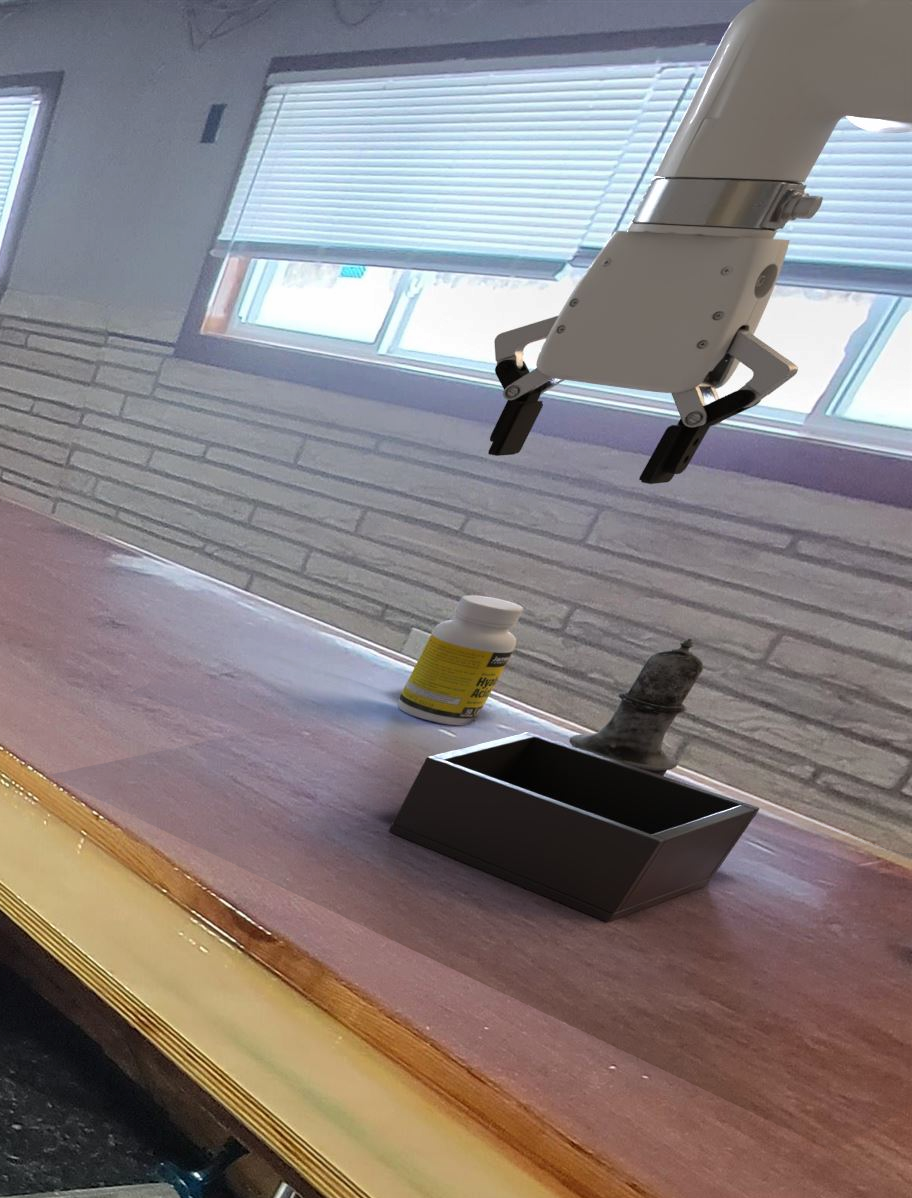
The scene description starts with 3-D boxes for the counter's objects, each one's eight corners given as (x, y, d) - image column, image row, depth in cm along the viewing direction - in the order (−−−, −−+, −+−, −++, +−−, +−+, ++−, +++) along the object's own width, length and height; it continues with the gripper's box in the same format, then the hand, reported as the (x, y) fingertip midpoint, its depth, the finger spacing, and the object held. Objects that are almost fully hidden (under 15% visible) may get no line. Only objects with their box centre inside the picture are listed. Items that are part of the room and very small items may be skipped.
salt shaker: (607, 780, 92) (699, 628, 86) (671, 816, 87) (774, 656, 81) (525, 774, 92) (611, 622, 86) (584, 809, 87) (680, 650, 81)
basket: (488, 803, 87) (528, 731, 85) (707, 885, 78) (760, 807, 75) (387, 831, 83) (426, 756, 80) (607, 922, 73) (660, 841, 70)
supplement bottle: (465, 732, 99) (526, 616, 94) (386, 711, 103) (441, 598, 98) (481, 717, 102) (541, 605, 97) (405, 697, 106) (459, 588, 101)
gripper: (908, 220, 78) (746, 491, 86) (588, 207, 91) (474, 443, 100) (857, 217, 75) (694, 497, 84) (534, 204, 89) (422, 446, 97)
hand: (575, 467), depth 92 cm, fingers open, 9 cm apart
